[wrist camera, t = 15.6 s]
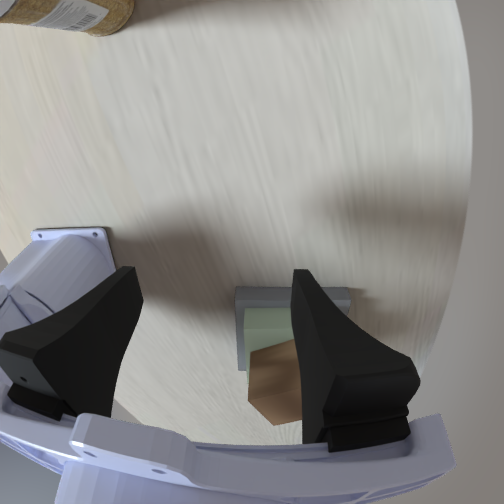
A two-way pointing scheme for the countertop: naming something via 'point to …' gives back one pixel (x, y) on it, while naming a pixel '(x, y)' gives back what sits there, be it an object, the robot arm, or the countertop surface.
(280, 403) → the walnut block
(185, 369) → the countertop surface
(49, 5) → the sprinkles bottle
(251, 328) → the tower top
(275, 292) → the tower base
